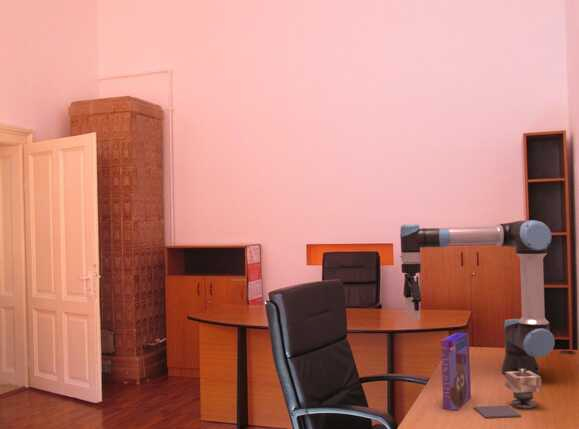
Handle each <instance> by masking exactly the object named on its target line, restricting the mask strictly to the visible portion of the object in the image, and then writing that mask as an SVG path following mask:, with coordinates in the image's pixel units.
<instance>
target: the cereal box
mask: <svg viewBox="0 0 579 429" xmlns="http://www.w3.org/2000/svg"><path fill="white" fill-rule="evenodd" d="M440 343H441V344H440V345H441V346H440V348H441V349H440V350H441V353H440V354H441V375H442V376H441V377H442V378H441V379H442V380H441V381H442V404H443V405H442V406H443V407H442V409H443V410H447V411H453V412H454V411H455V412H458V411H459V410H460V409H461V408H462V407H463V406H465V405H466V403H468V402H469V401H470V400H471V398H472V393H471V392H472V390H471V388H472V387H471V386H472V385H471V365H470V364H471V362H470V360H471V357H470V333H467V332H463V331H462V332H454V333H452V334H451V335H449V336H446V338H444V339H441V340H440Z"/></svg>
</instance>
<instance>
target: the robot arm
mask: <svg viewBox="0 0 579 429" xmlns="http://www.w3.org/2000/svg"><path fill="white" fill-rule="evenodd" d="M399 232H400V235H399V237H400V254H399V257H400V260H401V264H400V265H401V274H402V273H403V274H404V280H403V281H404V283H403V292H402V293H403V296H404V309H405V310H404V312H405V313H404V314H405V315H412V320H420V319H421V305H420V304H421V301H422V297H421V290H420V282H419V281H420V280H419V275H417V274H420V273H421V271H422V270H421V269H422V268H421V267H422V266H421V261H422V260H421V249H422V248H447V247H448V246H472V245H473V246H474V245H475V246H477V245H497V247H510V248H515V255H516V256H517V257H519V264H520V269H519V270H520V295H521V296H520V299H521V300H520V302H521V317H520V318H508V319H506V320H504V326H503V329H504V330H503V331H504V351H505V352H504V354H505V355H504V357H503V362H502V363H501V364H502V365H501V374H503V375H505V372H513V371H519V368H526V371H531V372H533V373H534V374H536V375H538V376H540V372H541V371H540V367H539V364H538V362H537V359H536V358H542V357H545V356H548V355H550V353H551V352H552V351H553V349H554V347H555V342H556V341H555V337H554V334H553V333H552V332H551V331H550V322H549V321H548V320H547V319H546V317H545V316H546V314H545V286H544V285H545V284H544V283H545V282H544V281H545V280H544V279H545V278H544V258H545V256H546V255H548V246H549V245H550V244H551V242H552V232H551V230H550V227H549V226H548V225H547V224H545V223H544V222H542V221H539V220H533V219H532V220H531V219H530V220H517V221H513V222H512V221H511V222H506V223H505V222H503V223H496V224H495V225H492V226H491V225H490V226H489V225H488V226H467V227H466V226H465V227H464V226H463V227H459V226H458V227H437V228H436V227H429V228H427V227H426V228H425V227H422V228H420V225H419V224H418V223H415V224H413V223H412V224H402V225H400V231H399Z"/></svg>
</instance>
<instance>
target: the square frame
mask: <svg viewBox="0 0 579 429" xmlns="http://www.w3.org/2000/svg"><path fill="white" fill-rule="evenodd" d="M504 384H505V387H506V388H508V389H510V390H511V391H512V392H513V391H514V392H516V393H523V392H533V393H539V392H540V393H542V392H543V391H542V377H541V376H540V375H539V376H538V375H536V374H534V373H533V372H531V371H526V376H522V377H519V371H513V372H505V374H504Z"/></svg>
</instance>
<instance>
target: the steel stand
mask: <svg viewBox="0 0 579 429" xmlns="http://www.w3.org/2000/svg"><path fill="white" fill-rule="evenodd" d="M522 376H526V368H519V377H522ZM512 392H513V393H512V395H513V398H514V399H512V400H511V406H512V407H513V408H514V409H519V410H534V409H536V408H537V402H536V401H534V398H535V397H534V392H523V393H516V392H514V391H512Z"/></svg>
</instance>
